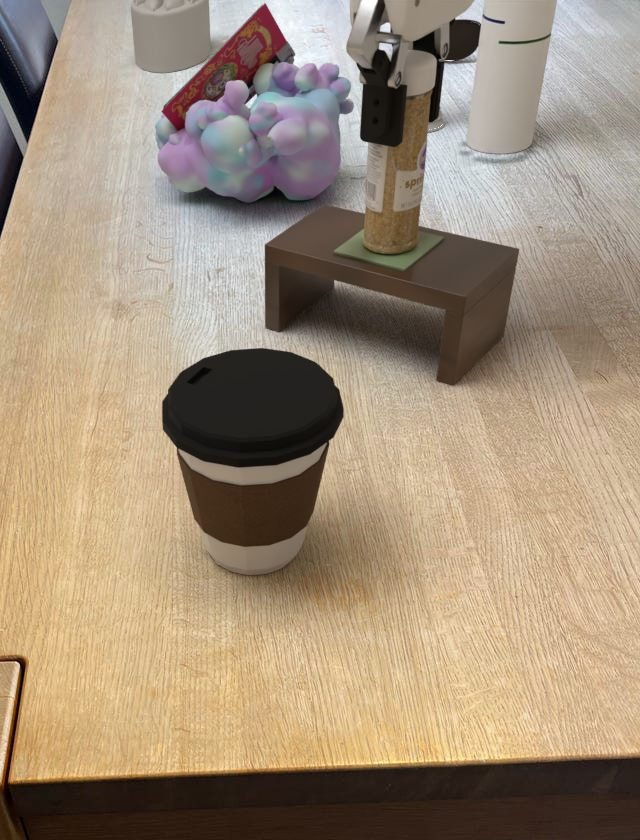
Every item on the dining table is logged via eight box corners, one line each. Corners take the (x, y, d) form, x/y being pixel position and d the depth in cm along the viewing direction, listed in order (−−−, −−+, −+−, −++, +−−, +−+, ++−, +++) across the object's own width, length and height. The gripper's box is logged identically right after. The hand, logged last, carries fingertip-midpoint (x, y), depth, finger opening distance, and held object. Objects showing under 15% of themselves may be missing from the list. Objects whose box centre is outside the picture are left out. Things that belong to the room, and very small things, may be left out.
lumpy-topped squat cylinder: (215, 42, 146) (213, -28, 140) (199, 71, 138) (196, -1, 132) (146, 44, 149) (140, -25, 142) (126, 73, 140) (119, 2, 134)
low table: (504, 335, 84) (520, 245, 78) (453, 385, 79) (466, 294, 74) (320, 285, 93) (323, 201, 87) (264, 327, 88) (264, 241, 82)
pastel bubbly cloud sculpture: (286, 203, 94) (340, -11, 89) (94, 165, 102) (131, -34, 96) (348, 236, 112) (396, 59, 106) (180, 201, 120) (216, 35, 114)
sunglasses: (377, 55, 137) (380, 13, 133) (431, 23, 145) (435, -18, 141) (471, 67, 130) (477, 24, 127) (522, 32, 138) (528, -10, 135)
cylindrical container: (492, 125, 116) (531, -146, 98) (545, 139, 112) (596, -142, 94) (452, 143, 113) (486, -132, 95) (505, 158, 109) (551, -127, 91)
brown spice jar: (419, 256, 78) (438, 66, 69) (359, 256, 79) (371, 69, 70) (418, 230, 82) (436, 45, 72) (360, 231, 82) (371, 48, 73)
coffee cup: (141, 566, 67) (122, 413, 59) (226, 479, 73) (220, 328, 65) (285, 623, 62) (288, 465, 54) (363, 524, 68) (376, 368, 60)
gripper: (412, -158, 55) (385, 181, 68) (544, -209, 64) (498, 101, 77) (297, -161, 59) (293, 162, 72) (437, -208, 67) (410, 87, 80)
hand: (399, 127), depth 74 cm, fingers closed on brown spice jar, 4 cm apart
